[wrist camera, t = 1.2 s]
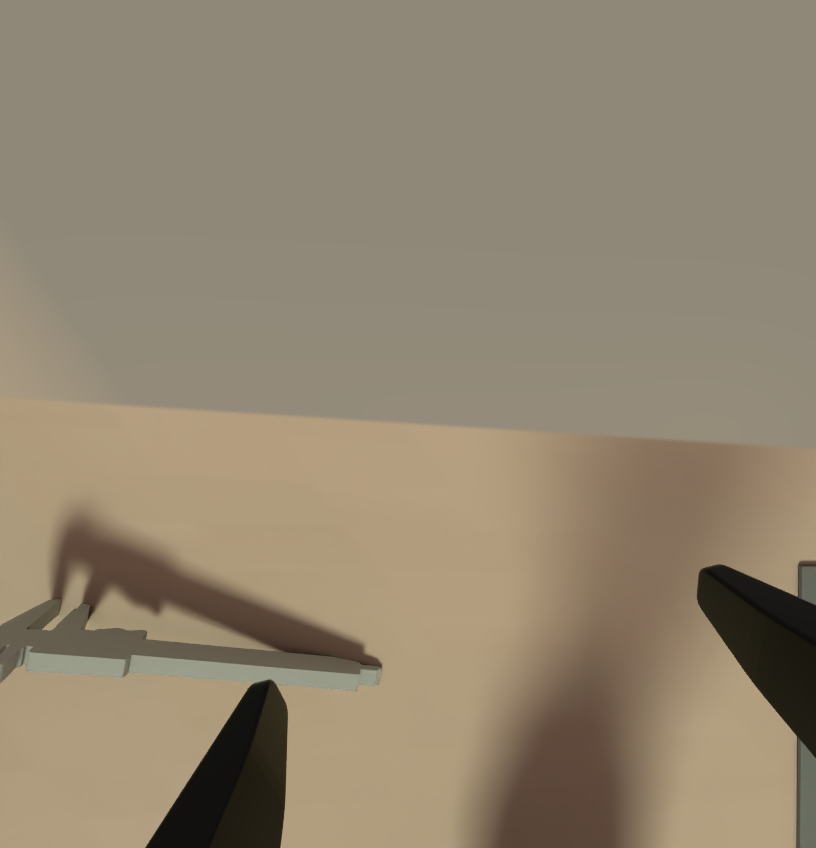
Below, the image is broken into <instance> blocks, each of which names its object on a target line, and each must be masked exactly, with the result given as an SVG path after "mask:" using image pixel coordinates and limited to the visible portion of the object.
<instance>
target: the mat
mask: <svg viewBox="0 0 816 848" xmlns="http://www.w3.org/2000/svg"><path fill="white" fill-rule="evenodd" d="M799 598H801V599H804V600H806V601H808V602H810V603H813V604H815V605H816V565H807V566H799ZM797 848H816V758H815V757H814V756H813V755H812V753H811V752H810V751H809V750H808V749H807V747H806V746H805V745H804V744H803V743H802V741H801V740H800V739H799V738H798V762H797Z"/></svg>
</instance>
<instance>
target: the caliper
mask: <svg viewBox="0 0 816 848" xmlns="http://www.w3.org/2000/svg"><path fill="white" fill-rule="evenodd" d="M60 604H61V599H54V600H48V601H46V602H44V603H42V604H40V605H38V606H36V607H34V608H32V609H30V610H29V611H27V612H25V613H23V614H21V615H19V616H17V617H15V618H13V619H11V620H9V621H7V622H6V623H4V624H2V625H1V626H0V683H1V682H2V681H3V680H4V679H5V678H6V677H7V676H8V675H9V674H10V673H11V672H12V671H13V670H14V669H15V668H17V667H21V666H22V665H23V664H26V669H25V670H26V671H31V672H44V673H58V674H73V675H87V676H102V677H117V678H123V677H124V676H126V675H127V673H139V674H151V675H163V676H176V677H188V678H200V679H212V680H225V681H237V682H249V683H256V682H260V681H264V680H268V679H271V680H273V681H274V682H275V684H276V685H286V686H299V687H312V688H325V689H338V690H351V691H357V687H358V685H362V686H375V685H378V684H379V680H380V675H381V670H382V667H380V666H372V665H360V662H356V661H351V660H347V659H342V658H337V657H331V656H320V655H308V654H297V653H286V652H275V651H264V650H253V649H242V648H231V647H221V646H210V645H200V644H189V643H179V642H168V641H158V640H147V639H146V636H147V631H145V630H135V631H129V630H124V629H120V628H112V629H97V630H95V631H92V630H84V629H85V626H86V624H87V621H88V616H89V610H90V605H87V604H81V605H80V606H79V607H78V608H77V609H74V610H73V611H72V612H71V613H69V614H68V615H67V616H66V617H65V618H64V619H63V620H62V621H61V622H60V623H59V624H58V625H57V626H56V628H54V629H53V630H51V631H48V630H42V629H43V628H44V627H45V626H46V625H47V624H48V623H49V622H51V621H52V620H53V619H54V618H55V617H57V616H58V615H59V610H60Z"/></svg>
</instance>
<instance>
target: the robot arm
mask: <svg viewBox="0 0 816 848" xmlns="http://www.w3.org/2000/svg"><path fill="white" fill-rule="evenodd" d="M697 600H698V604H699V606H700V608H701V609H702V611H703V612H704V614H705V615H706V617H707V618H708V620H709V621H710V622H711V624H712V625H713V627H714V628H715V630H716V631H717V632H718V634H719V635H720V637H721V638H722V640H723V641H724V642H725V644H726V645H727V647H728V648H729V650H730V651H731V652H732V654H733V655H734V657H735V658H736V660H737V661H738V662H739V664H740V665H741V667H742V668H743V670H744V671H745V672H746V674H747V675H748V676H749V678H750V679H751V681H752V682H753V683H754V685H755V686H756V687H757V688H758V690H759V691H760V692H761V693H762V694H763V696H764V697H765V698H766V699H767V701H768V702H769V703H770V704H771V705H772V707H773V708H774V709H775V710H776V711H777V713H778V714H779V715H780V716H781V717H782V719H783V720H784V721H785V722H786V723H787V725H788V726H789V727H790V728H791V729H792V731H793V732H794V733H795V734H796V735H797V737H798V738H799V739H800V740H801V741H802V743H803V744H804V745H805V746H806V747H807V749H808V750H809V751H810V752H811V753H812V755H813V756H814V757H815V758H816V605H815V604H813V603H810V602H808V601H806V600H804V599H801V598H799V597H797V596H794V595H792V594H790V593H787V592H785V591H783V590H781V589H778V588H776V587H774V586H771V585H769V584H767V583H764V582H762V581H760V580H758V579H755V578H753V577H751V576H748V575H746V574H744V573H741V572H739V571H737V570H734V569H732V568H730V567H728V566H725V565H713V566H710V567H706V568H703V569H701V570H700V572H699V578H698V588H697ZM287 727H288V711H287V706H286V703H285V701H284V699H283V697H282V695H281V693H280V691H279V689H278V687H277V685H276V684H275V682H274V681H273V680H271V679H268V680H264V681H260V682H256V683H254V684H252V685H251V686H250V687H249V688H248V690H247V691H246V693H245V694H244V696H243V697H242V699H241V701H240V702H239V704H238V705H237V707H236V708H235V710H234V711H233V713H232V714H231V716H230V718H229V719H228V721H227V722H226V724H225V725H224V727H223V728H222V730H221V731H220V733H219V735H218V736H217V738H216V739H215V741H214V742H213V744H212V745H211V747H210V748H209V750H208V752H207V753H206V755H205V756H204V758H203V759H202V761H201V762H200V764H199V765H198V767H197V769H196V770H195V772H194V773H193V775H192V776H191V778H190V779H189V781H188V782H187V784H186V786H185V787H184V789H183V790H182V792H181V793H180V795H179V796H178V798H177V799H176V801H175V803H174V804H173V806H172V807H171V809H170V810H169V812H168V813H167V815H166V816H165V818H164V820H163V821H162V823H161V824H160V826H159V827H158V829H157V830H156V832H155V834H154V835H153V837H152V838H151V840H150V841H149V843H148V844H147V846H146V847H145V848H280V846H281V838H282V829H283V821H284V810H285V793H286V761H287Z"/></svg>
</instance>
